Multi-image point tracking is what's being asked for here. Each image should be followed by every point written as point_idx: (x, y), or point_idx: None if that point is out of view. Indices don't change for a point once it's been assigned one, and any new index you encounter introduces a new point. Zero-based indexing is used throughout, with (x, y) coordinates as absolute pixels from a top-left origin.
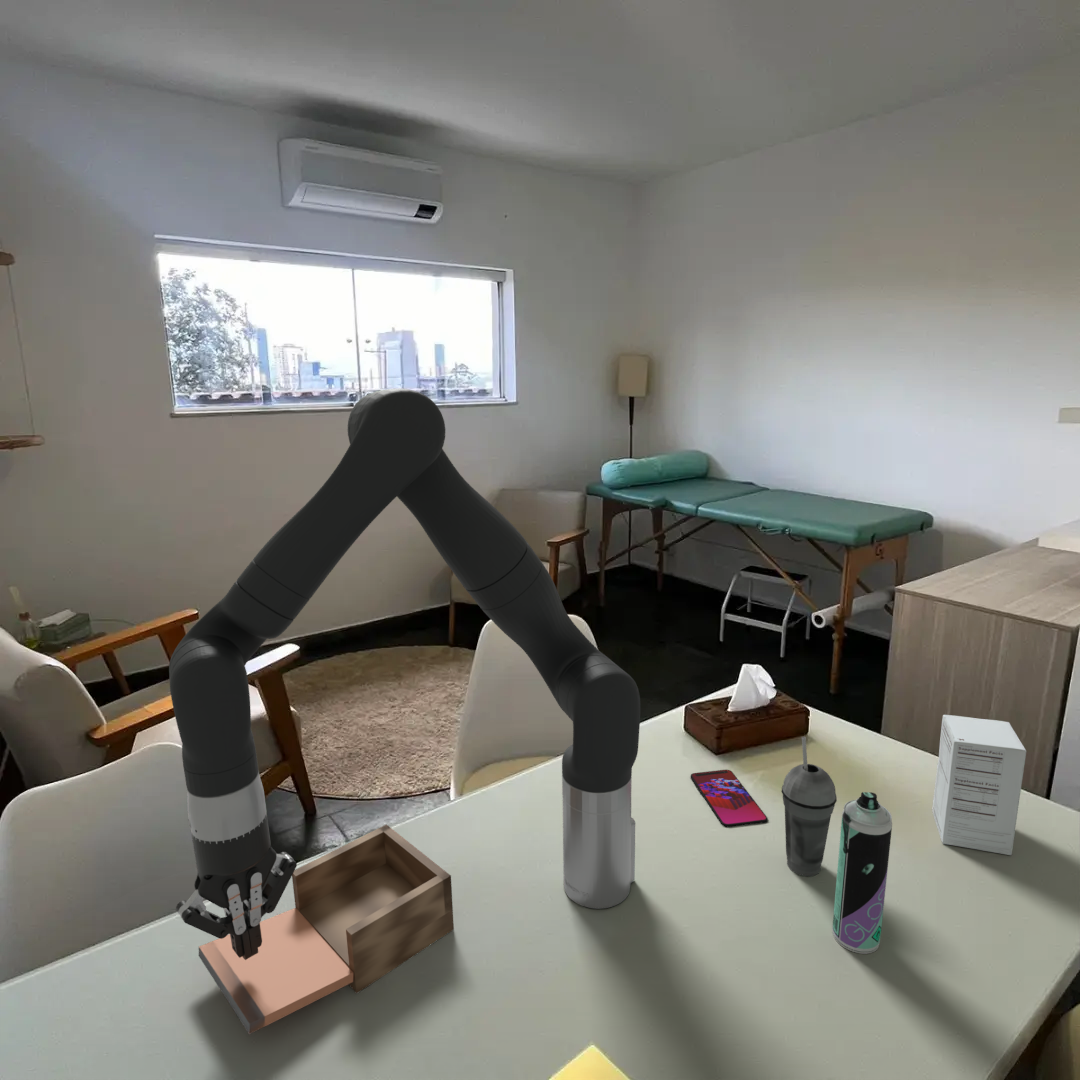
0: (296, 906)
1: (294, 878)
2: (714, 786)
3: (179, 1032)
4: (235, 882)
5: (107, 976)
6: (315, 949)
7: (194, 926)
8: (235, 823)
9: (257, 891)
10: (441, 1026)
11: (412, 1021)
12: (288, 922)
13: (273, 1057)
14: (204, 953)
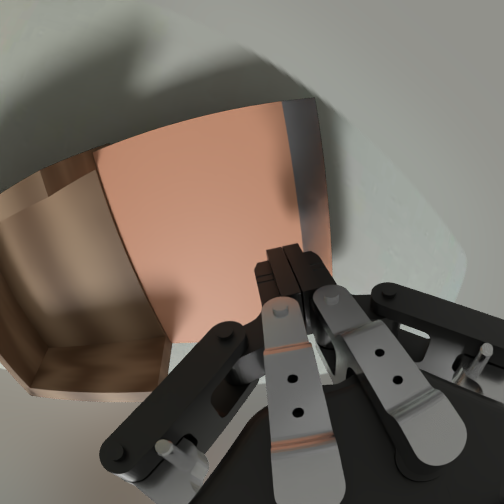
0: (169, 344)
1: None
2: None
3: (366, 216)
4: (406, 467)
5: None
6: (147, 241)
7: (488, 316)
8: None
9: (291, 412)
10: (36, 43)
11: (59, 60)
12: (185, 321)
13: (264, 86)
14: None
